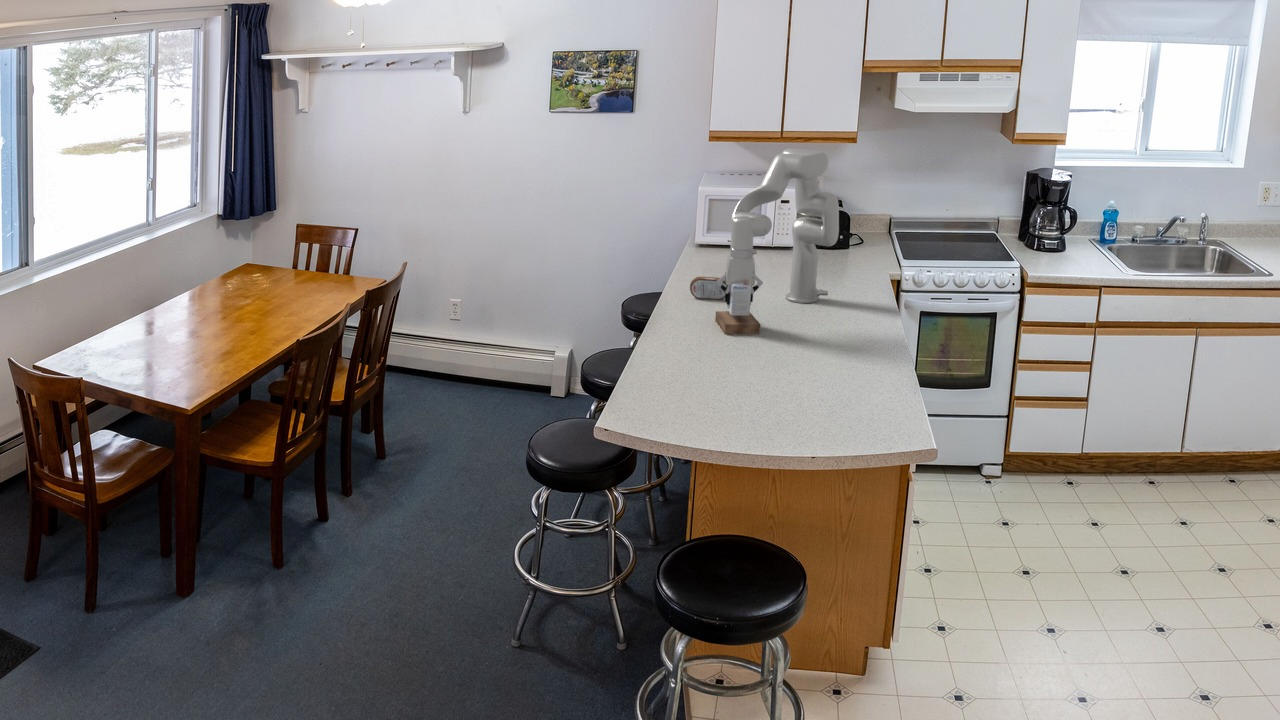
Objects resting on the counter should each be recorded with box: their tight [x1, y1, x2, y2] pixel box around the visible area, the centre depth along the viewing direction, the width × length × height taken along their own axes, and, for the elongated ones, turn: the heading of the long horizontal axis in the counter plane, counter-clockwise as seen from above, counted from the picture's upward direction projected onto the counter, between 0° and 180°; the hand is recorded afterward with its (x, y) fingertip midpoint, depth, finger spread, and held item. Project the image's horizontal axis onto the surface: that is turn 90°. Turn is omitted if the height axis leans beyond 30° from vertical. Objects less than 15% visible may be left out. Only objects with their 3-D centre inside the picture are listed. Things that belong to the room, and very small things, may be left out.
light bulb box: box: [726, 283, 753, 315], centre depth 356 cm, size 11×7×11 cm, turn 5°
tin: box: [689, 276, 726, 301], centre depth 393 cm, size 15×3×8 cm, turn 84°
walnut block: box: [714, 310, 761, 335], centre depth 359 cm, size 12×16×4 cm
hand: (738, 303), depth 357 cm, fingers closed on light bulb box, 6 cm apart
